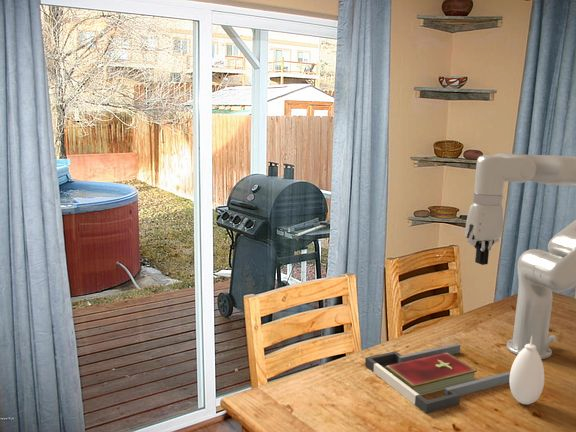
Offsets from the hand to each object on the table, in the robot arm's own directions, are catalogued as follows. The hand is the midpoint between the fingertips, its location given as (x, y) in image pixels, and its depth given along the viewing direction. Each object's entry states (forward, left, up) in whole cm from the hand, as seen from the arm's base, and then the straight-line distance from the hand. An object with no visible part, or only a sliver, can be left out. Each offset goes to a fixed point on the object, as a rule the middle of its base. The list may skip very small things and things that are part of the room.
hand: (481, 263), depth 152 cm
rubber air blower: (+6, +24, -29) cm, 38 cm away
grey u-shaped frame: (+16, +5, -29) cm, 34 cm away
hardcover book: (+20, +5, -30) cm, 36 cm away
